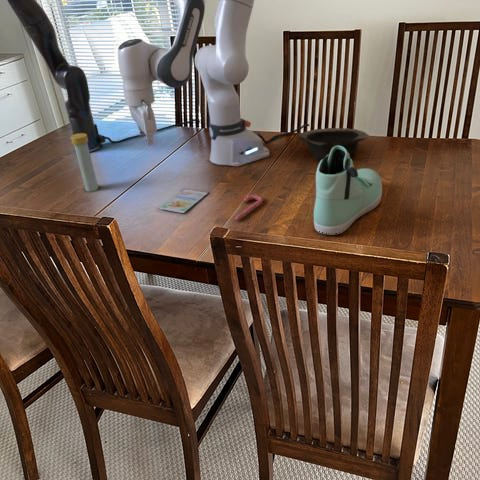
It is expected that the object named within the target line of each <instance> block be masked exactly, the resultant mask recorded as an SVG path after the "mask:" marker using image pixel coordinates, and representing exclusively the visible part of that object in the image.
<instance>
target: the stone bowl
mask: <svg viewBox="0 0 480 480" xmlns="http://www.w3.org/2000/svg"><path fill="white" fill-rule="evenodd" d="M368 138H370V134H368V133H367V132H365V131H363V130H360V129H357V128H356V129H355V128H348V127H347V128H345V127H344V128H343V127H340V128H339V127H327V128H315V129H311V130H307V131H306V130H305V131H303V132H301V133H299V136H298V139H299V140H301V141H304V142H306V143H307V148H308V151H309V152H310V153H311V154H312V155H313V156H315V159H316V161H318V162H320V161H321V160H322V159H324V158H325V157H326V156H327V155H329V154H330V152H331V149H332V148H333V147H334V146H342V147H344V148H345V149H346V150H347V152H348V153H349V156H350V157H354V156H355V155H357V150H358V146H359V145H358V143H359V142H362V141H364V140H366V139H368Z"/></svg>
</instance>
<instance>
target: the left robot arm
mask: <svg viewBox="0 0 480 480" xmlns="http://www.w3.org/2000/svg"><path fill="white" fill-rule="evenodd" d="M6 1H7V3H8V5H9V6H10V7H11V10H12V11H13V12H14V14H15V16H16V18H17V19H18V21H19V23H20V24H21V26H22V27H23V29H24V31H25V33H26V34H27V35H28V37H29V38H30V40H31V42H32V43H33V45H34V46H35V48H36V49H37V51H38V52H39V54H40V55H41V57H42V59H43V60H44V62H45V64H46V65H47V67H48V70H49V72H50V73H51V76H52V78H53V80H54V82H55V83H56V85H58V86H59V88H60V89H63V90H65V91H66V96H67V100H65V102H64V106H65V110H66V114H67V115H66V116H67V118H68V122H69V126H70V130H71V133H72V135H75V134H79V133H85V134H87V138H88V142H87V144H88V148H89V152H90V153H92V152H96V151H97V150H99V149H100V148H102V144H103V143H106V141H107V140H108V141H109V142H110V143H111V144H118V143H122V142H126V141H129V140H132V139H133V140H134V139H136V138H140V137H141V136H140V134H136V135H133V136H128V137H125V138H122V139H120V140H112V139H111V138H110V137H109V136H105V135H103V134H100V133H99V129H98V125H97V123H95V121H94V116H93V113H92V108H91V104H90V102H91V101H90V100H91V94H90V89H89V84H88V78H87V75H86V73H85V71H84V70H83V69H82V68H81V67H79V66H77V65H72V64H70V63H69V61H67V59H66V58H65V56H64V55H63V53H62V51H61V49H60V46H59V43H58V37H57V33H56V30H55V27H54V25H53V23H52V21H51V19H50V18H49V16H48V14H47V13H46V11H45V10H44V9H43V7H42V6H41V5H40V4H39V3H38V2H37V0H6ZM193 122H197V123H201V120H199V119H197V118H193V119H190V120H188V121H183V122H180V123H175V124H172V125H167V126H165V127H161V128H157V133H158V132H160V131H164V130H167V129H171V128H174V127H179V126H183V125H188V124H191V123H193ZM141 138H142V137H141Z"/></svg>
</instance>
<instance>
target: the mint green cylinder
mask: <svg viewBox="0 0 480 480" xmlns="http://www.w3.org/2000/svg"><path fill="white" fill-rule="evenodd" d="M73 146H74V150H75V154H76V157H77V161H78V165H79V169H80V173H81V176H82V181H83V185H84V188H85V191H86V192H88V193H89V192H95V191H97V190H98V189H99V184H98V180H97V177H96V173H95V168H94V164H93V161H92V157H91V152H89V148H88V144H87V143H85V144H82V145H73Z"/></svg>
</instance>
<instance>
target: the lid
mask: <svg viewBox="0 0 480 480" xmlns="http://www.w3.org/2000/svg"><path fill="white" fill-rule="evenodd" d="M70 141H71V144H72V145H73V146H74V145H82V144H85V143H87V142H88V138H87V134H85V133H79V134H75V135H73V134H72V135H71V136H70Z"/></svg>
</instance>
